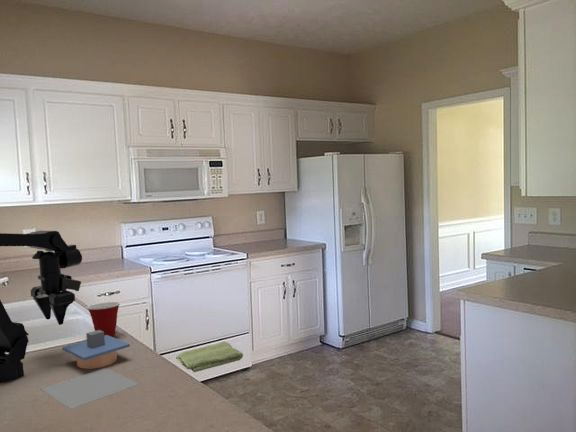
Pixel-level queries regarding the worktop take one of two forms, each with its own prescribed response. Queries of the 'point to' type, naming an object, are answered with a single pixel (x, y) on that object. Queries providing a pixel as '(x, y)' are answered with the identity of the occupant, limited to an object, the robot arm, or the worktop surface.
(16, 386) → the worktop surface
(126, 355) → the worktop surface
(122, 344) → the cover sheet
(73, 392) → the mat
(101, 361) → the bowl
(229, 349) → the washcloth
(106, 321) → the plastic cup
